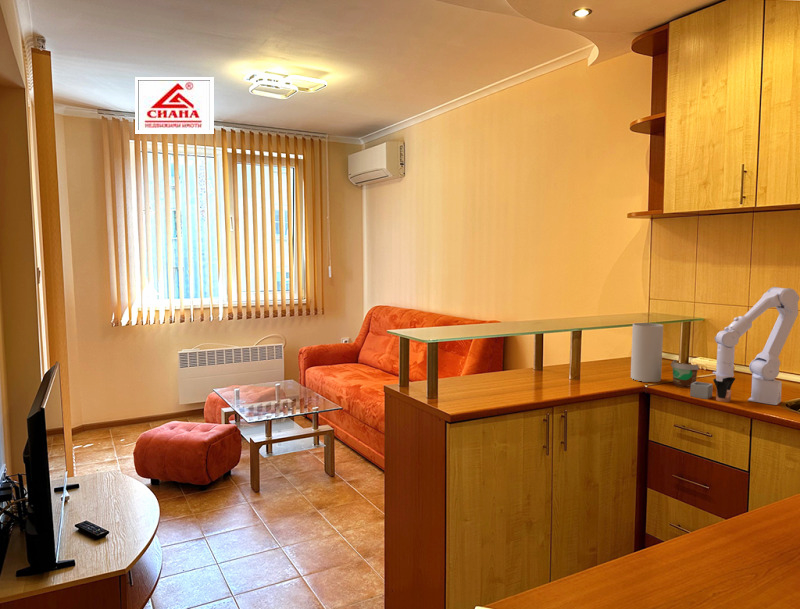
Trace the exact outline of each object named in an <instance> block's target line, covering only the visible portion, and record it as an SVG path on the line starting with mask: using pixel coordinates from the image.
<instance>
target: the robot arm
mask: <svg viewBox="0 0 800 609" xmlns="http://www.w3.org/2000/svg"><path fill="white" fill-rule="evenodd" d="M799 301H800V296H799V295H798V292H797V291H796V290H795V289H793V288H791V287H790V288H789V287H787V288H785V287H778V286H773V287H770V288H769V289H768V290H767V291H766V292H764V293H763V294H762V296H761V297H760V299H759V300H758V301H757V302H756V303H754V305H753V306H752V307H751V308H750V309H749V310H748V311H747V312H746V313H745V314H744V315H739V316H736V317H734V318H733V321H732V322H731V323H730V324H729V325H727V326H725V327H724V329H723V330H719V332H717V334H716V336H714V341H715V343H716V344H717V350H716V367H715V368H716V371H712V374H713V375H715V378H713V380H712V381H713V383H714V385H715V387H716V388H715V389H716V391H717V393H718V397H719V398H725V397H726V393H727V390H731V389H732V385H733V383H734V382H735V380H736V377H734V376H735V374H734V371H735V370H734V368H735V365H734V364H735V353H736V352H735V348H736V345H738V343H739V340H740V338H741V337H742V336H743V335H744V334H746V332H748V331H749V330H750V329H752V326H753V322H754V321H755V320H757V318H758V317H760V316H761V315H763V313H765V312H766V311H767V310H768V309H770V308H776V310H777V312H778V316H777V319H776V321H775V323H774V325H773V328H772V329H771V331H770V334H769V336H768V338H767V341H766V343H765V345H764V347H763V348H762V351H760V352H759V353H757V355H756V356H755V358H754V359H752V360H751V361H750V363H749V365H748V367H749V368H748V369H749V371H750V373H752V374H751V390H750V391H751V392H750V393H751V396H750V397H749V398H748V399H747V401H748V402H754V403H761V404H765V405H771V406H773V405H774V406H778V405H779V404H780V403H781V402H782V385H783V384H782V381H781V380H777V379H776V378H777V377H778V376H779V374H780V365H782V364H781V361H780V358H779V356H780V354H781V353H782V350H783V348H784V345H785V344H786V342H787V339H788V337H789V335H790V333H791V330H792V328H793V326H794V324H795V321H796V320H797V317H798V315H799Z"/></svg>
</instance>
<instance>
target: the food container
mask: <svg viewBox="0 0 800 609" xmlns="http://www.w3.org/2000/svg"><path fill="white" fill-rule="evenodd" d="M670 366H671V368H672V380H673V381H672V383H673V385H674V386H676V387H678V388H679V387H680V388H686V387H687V389H688V388H689V389H691V384H692V383H694V382H697V376H698V371H699V370H700V369H699V368H700V366H699V364H690V363H687V362H684V363H683V362H679V361H678V362H677V359H674V360H672V362H671V363H670Z"/></svg>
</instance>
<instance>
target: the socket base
mask: <svg viewBox="0 0 800 609" xmlns="http://www.w3.org/2000/svg"><path fill="white" fill-rule="evenodd" d="M689 389H690V392H689V395H690V397H691V396H692V398H696V399H697V398H698V399H703V400H708V399H710V398H712V397H713V383H708V382H702V381H701V382H700V381H696V382H694V383H692V384H691V388H689Z"/></svg>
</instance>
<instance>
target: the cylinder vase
mask: <svg viewBox="0 0 800 609" xmlns="http://www.w3.org/2000/svg"><path fill="white" fill-rule="evenodd" d="M631 329H632V330H631V332H632V333H631V335H632V336H631V356H630V358H631V360H630V379H631V378H632V379H631V380H633V379H634V380H633V381H635V380H638V381H637V382H639V381H642V382H641V383H648V382H654V383H659V382H661V380H662V365H663V359H662V358H663V342H664V340H663V338H664V325H663V324H660V323H653V322H636V323H632V328H631Z"/></svg>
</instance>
